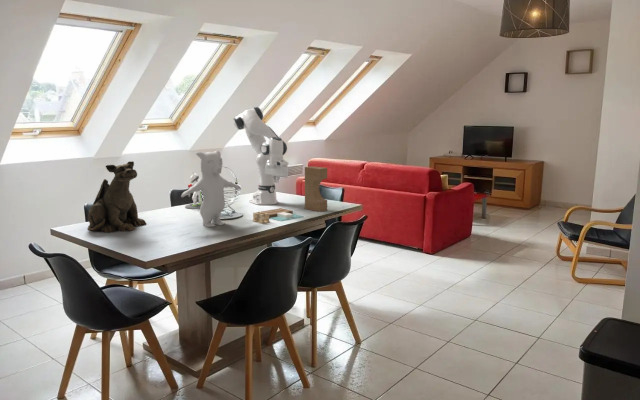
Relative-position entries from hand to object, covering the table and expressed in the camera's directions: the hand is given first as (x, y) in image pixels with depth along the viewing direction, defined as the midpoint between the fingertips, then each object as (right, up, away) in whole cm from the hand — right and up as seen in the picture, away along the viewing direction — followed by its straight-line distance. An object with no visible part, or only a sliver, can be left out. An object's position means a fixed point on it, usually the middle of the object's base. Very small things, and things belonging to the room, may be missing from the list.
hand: (276, 182), depth 340 cm
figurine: (-60, -17, +30) cm, 70 cm away
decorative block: (+26, -19, +20) cm, 38 cm away
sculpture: (-91, -29, -35) cm, 102 cm away
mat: (+7, -23, -6) cm, 25 cm away
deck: (-2, -22, +4) cm, 22 cm away
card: (+6, -23, -4) cm, 24 cm away
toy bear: (-36, -27, -27) cm, 52 cm away
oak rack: (-8, -26, -18) cm, 33 cm away
